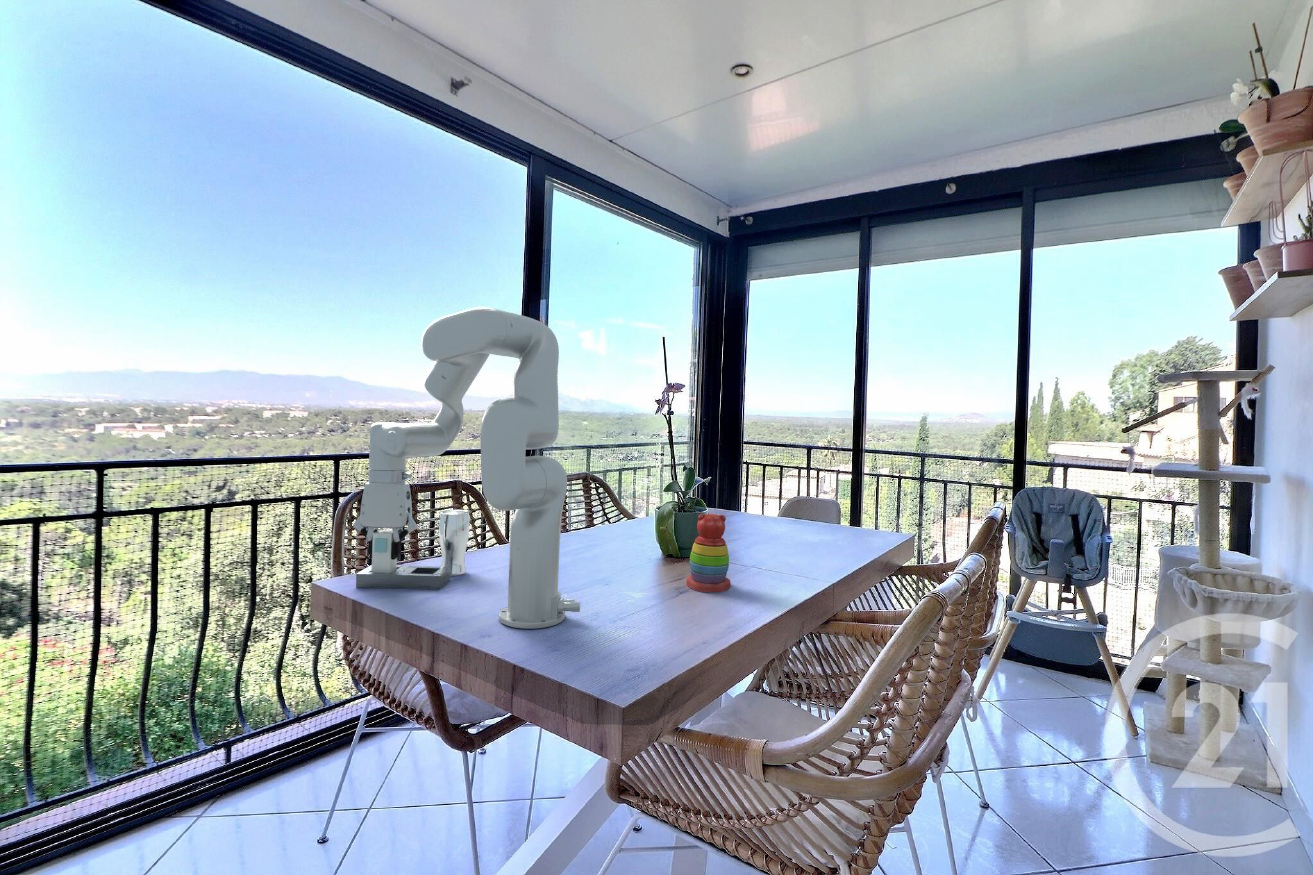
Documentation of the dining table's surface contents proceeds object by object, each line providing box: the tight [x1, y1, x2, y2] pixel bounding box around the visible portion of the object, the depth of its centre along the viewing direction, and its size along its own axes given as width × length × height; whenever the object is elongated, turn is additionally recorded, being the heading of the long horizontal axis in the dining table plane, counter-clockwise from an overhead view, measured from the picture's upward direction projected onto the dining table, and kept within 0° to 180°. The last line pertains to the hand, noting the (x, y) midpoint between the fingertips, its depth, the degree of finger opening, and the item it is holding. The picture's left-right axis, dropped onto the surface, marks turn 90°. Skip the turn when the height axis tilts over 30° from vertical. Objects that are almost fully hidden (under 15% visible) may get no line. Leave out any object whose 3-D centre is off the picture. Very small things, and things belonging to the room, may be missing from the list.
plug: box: [371, 529, 398, 573], centre depth 135 cm, size 4×5×10 cm
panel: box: [355, 564, 451, 591], centre depth 135 cm, size 18×8×3 cm, turn 93°
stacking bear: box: [685, 513, 732, 593], centre depth 143 cm, size 11×10×18 cm
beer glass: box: [438, 509, 470, 577], centre depth 146 cm, size 7×7×15 cm
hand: (384, 556), depth 135 cm, fingers closed on plug, 4 cm apart
